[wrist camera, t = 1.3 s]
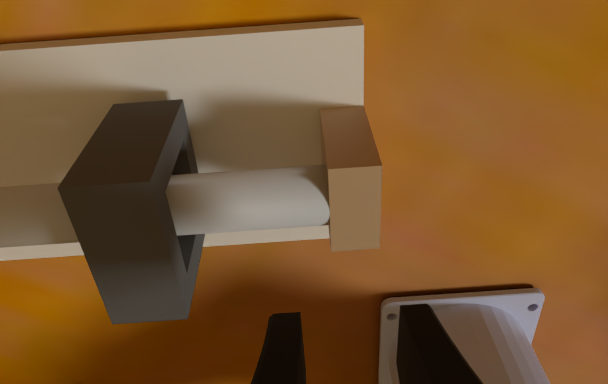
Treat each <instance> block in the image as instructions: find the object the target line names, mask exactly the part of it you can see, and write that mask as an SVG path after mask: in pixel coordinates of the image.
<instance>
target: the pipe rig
mask: <svg viewBox="0 0 608 384" xmlns="http://www.w3.org/2000/svg"><path fill="white" fill-rule="evenodd" d="M178 99H183V102H184V107H185V112H186V116H187V121H188V126H189V131H190V135H191V140H192V145H193V150H194V154H195V159H196V164H197V169H198V173H195V174H180V175H171V177H170V180H169V183H168V186H167V189H166V196H167V199H168V203H169V207H170V211H171V215H172V219H173V222H174V226H175V230H176V234H177V236H179V235H193V234H205V238H204V243H203V247H207V246H222V245H237V244H251V243H266V242H280V241H295V240H309V239H324V238H330V245H331V252H332V251H347V250H362V249H376V248H380V221H381V189H382V163H381V160H380V157H379V154H378V151H377V147H376V144H375V141H374V138H373V135H372V131H371V128H370V125H369V122H368V119H367V115H366V112H365V109H364V106H363V103H364V24H363V22H362V20H361V19H347V20H333V21H319V22H305V23H291V24H277V25H263V26H249V27H235V28H221V29H207V30H193V31H179V32H165V33H151V34H137V35H123V36H109V37H95V38H81V39H67V40H53V41H39V42H25V43H11V44H0V261H4V260H18V259H33V258H47V257H62V256H77V255H84V253H83V250H82V248H81V245H80V243H79V240H78V238H77V236H76V233H75V231H74V228H73V226H72V223H71V221H70V218H69V216H68V213H67V211H66V208H65V206H64V203H63V201H62V199H61V196H60V194H59V191H58V189H57V188H58V186H59V185H60V183H61V182H62V180H63V179H64V177H65V176H66V174H67V173H68V171H69V170H70V168H71V167H72V165H73V164H74V162H75V161H76V159H77V158H78V156H79V155H80V153H81V152H82V150H83V149H84V147H85V146H86V144H87V143H88V141H89V140H90V138H91V137H92V135H93V134H94V132H95V131H96V129H97V128H98V126H99V125H100V123H101V122H102V120H103V119H104V117H105V116H106V114H107V113H108V111H109V110H110V108H111V107H112V105H113V104H122V103H136V102H150V101H164V100H178Z"/></svg>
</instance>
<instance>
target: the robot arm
mask: <svg viewBox="0 0 608 384" xmlns="http://www.w3.org/2000/svg"><path fill="white" fill-rule="evenodd" d="M544 299H545V296H544V294H543V293H542V291H541V290H540V289H538V288H526V289H511V290H497V291H482V292H467V293H453V294H438V295H423V296H409V297H394V298H387V299H385V300H384V301H383V302H382V303H381V314H380V342H379V369H378V384H550V382H549V380H548V378H547V376H546V374H545V372H544V370H543V368H542V366H541V364H540V362H539V360H538V358H537V356H536V354H535V352H534V350H533V348H532V346H531V343H532V340H533V336H534V333H535V330H536V326H537V323H538V320H539V316H540V313H541V309H542V306H543V303H544ZM531 304H532V305H531ZM391 313H393V314H391ZM389 314H391V315H389ZM251 384H306V369H305V358H304V347H303V337H302V326H301V315H300V312H295V313H280V314H273V315H272V316H271V317H269V322H268V328H267V332H266V337H265V341H264V345H263V348H262V352H261V355H260V358H259V361H258V365H257V368H256V371H255V374H254V376H253V379H252V382H251Z"/></svg>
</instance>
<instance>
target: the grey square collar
mask: <svg viewBox="0 0 608 384" xmlns="http://www.w3.org/2000/svg"><path fill="white" fill-rule="evenodd" d="M195 173H198V169H197V164H196V159H195V154H194V150H193V145H192V140H191V135H190V131H189V126H188V121H187V116H186V112H185V107H184V102H183V99H178V100H164V101H150V102H136V103H122V104H113V105H112V107H111V108H110V110H109V111H108V113H107V114H106V116H105V117H104V119H103V120H102V122H101V123H100V125H99V126H98V128H97V129H96V131H95V132H94V134H93V135H92V137H91V138H90V140H89V141H88V143H87V144H86V146H85V147H84V149H83V150H82V152H81V153H80V155H79V156H78V158H77V159H76V161H75V162H74V164H73V165H72V167H71V168H70V170H69V171H68V173H67V174H66V176H65V177H64V179H63V180H62V182H61V183H60V185H59V186H58V188H57V189H58V191H59V194H60V196H61V199H62V201H63V203H64V206H65V208H66V211H67V213H68V216H69V218H70V221H71V223H72V226H73V228H74V231H75V233H76V236H77V238H78V240H79V243H80V245H81V248H82V250H83V253H84V255H85V258H86V260H87V263H88V265H89V268H90V270H91V273H92V275H93V277H94V280H95V282H96V285H97V287H98V290H99V292H100V295H101V297H102V300H103V302H104V305H105V307H106V310H107V312H108V314H109V317H110V319H111V322H112V324H123V323H138V322H152V321H167V320H182V319H188V316H189V312H190V307H191V302H192V297H193V292H194V287H195V282H196V277H197V272H198V267H199V262H200V257H201V252H202V248H203V243H204V238H205V234H193V235H179V236H177V234H176V230H175V226H174V222H173V219H172V215H171V211H170V207H169V203H168V199H167V196H166V189H167V186H168V183H169V180H170V177H171V175H180V174H195Z"/></svg>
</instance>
